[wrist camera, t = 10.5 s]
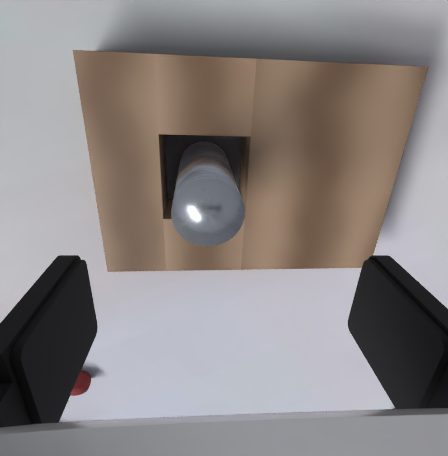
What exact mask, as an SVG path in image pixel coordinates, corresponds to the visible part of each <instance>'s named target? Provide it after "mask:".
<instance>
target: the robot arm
mask: <svg viewBox="0 0 448 456" xmlns="http://www.w3.org/2000/svg"><path fill="white" fill-rule="evenodd" d="M348 328H349V331H350V333H351V334H352V336H353V338H354V339H355V341H356V343H357V344H358V346H359V348H360V349H361V351H362V353H363V354H364V356H365V358H366V359H367V361H368V363H369V364H370V366H371V368H372V370H373V371H374V373H375V375H376V376H377V378H378V380H379V381H380V383H381V385H382V386H383V388H384V390H385V391H386V393H387V395H388V396H389V398H390V400H391V401H392V403H393V405H394V407H395V408H396V409H386V410H353V411H321V412H292V413H264V414H237V415H210V416H186V417H162V418H138V419H115V420H95V421H78V422H61V423H59V420H60V418H61V416H62V413H63V411H64V409H65V406H66V404H67V402H68V399H69V397H70V395H71V392H72V390H73V388H74V385H75V383H76V381H77V378H78V376H79V374H80V371H81V369H82V367H83V364H84V362H85V360H86V357H87V355H88V353H89V350H90V348H91V346H92V343H93V341H94V339H95V336H96V333H97V320H96V314H95V309H94V303H93V298H92V292H91V286H90V281H89V275H88V270H87V264H86V261H85V260H81V259H80V257H79V256H58V257H57V258H56V259H55V260H54V261H53V262H52V263H51V265H50V266H49V267H48V268H47V269H46V271H45V272H44V273H43V274H42V275H41V276H40V278H39V279H38V280H37V281H36V282H35V283H34V285H33V286H32V287H31V288H30V289H29V290H28V292H27V293H26V294H25V295H24V296H23V297H22V299H21V300H20V301H19V302H18V303H17V305H16V306H15V307H14V308H13V309H12V310H11V312H10V313H9V314H8V315H7V316H6V317H5V319H4V320H3V321H2V322H1V323H0V456H448V309H447V308H446V307H445V306H444V305H443V304H442V303H441V302H439V301H438V300H437V299H436V298H435V297H434V296H433V295H432V294H431V293H430V292H429V291H427V290H426V289H425V288H424V287H423V286H422V285H421V284H420V283H419V282H418V281H417V280H415V279H414V278H413V277H412V276H411V275H410V274H409V273H408V272H407V271H406V270H405V269H403V268H402V267H401V266H400V265H399V264H398V263H397V262H396V261H395V260H394V259H393V258H391V257H390V256H370V257H369V258H368V260H365V261H364V263H363V266H362V269H361V273H360V277H359V281H358V285H357V288H356V292H355V296H354V300H353V304H352V307H351V311H350V315H349V319H348Z"/></svg>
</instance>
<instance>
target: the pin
mask: <svg viewBox="0 0 448 456" xmlns="http://www.w3.org/2000/svg"><path fill="white" fill-rule="evenodd" d="M171 217H172V222H173V225H174V227H175V229H176V230H177V232H178V233H179V234H180V235H181V236H182V237H183V238H184V239H185V240H187V241H189V242H191V243H193V244H196V245H199V246H216V245H220V244H222V243H225V242H227V241H228V240H230V239H231V238H233V237H234V236H235V235H236V234H237V232H238V231H239V230H240V228H241V226H242V224H243V221H244V217H245V207H244V203H243V200H242V197H241V195H240V192H239V189H238V187H237V184H236V181H235V179H234V176H233V173H232V171H231V168H230V165H229V163H228V160H227V157H226V155H225V153H224V152H223V150H222V149H221V148H220V147H219V146H217V145H216V144H214V143H211V142H206V141H202V142H197V143H194V144H192V145H190V146H189V147H188V148H187V149H186V150H185V151H184V152H183V154H182V156H181V159H180V165H179V170H178V176H177V181H176V187H175V192H174V198H173V203H172V209H171Z"/></svg>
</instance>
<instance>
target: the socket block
mask: <svg viewBox="0 0 448 456" xmlns="http://www.w3.org/2000/svg"><path fill="white" fill-rule="evenodd" d="M73 54H74V61H75V67H76V73H77V80H78V86H79V93H80V99H81V105H82V112H83V118H84V124H85V131H86V137H87V143H88V150H89V156H90V163H91V169H92V175H93V182H94V188H95V194H96V201H97V207H98V213H99V220H100V226H101V233H102V239H103V245H104V252H105V258H106V264H107V271H108V272H117V271H181V270H244V269H308V268H362V266H363V263H364V261H365V260H368V258H369V257H370V256H373V253H374V250H375V247H376V243H377V240H378V236H379V233H380V230H381V226H382V223H383V220H384V216H385V213H386V209H387V206H388V203H389V199H390V196H391V192H392V189H393V186H394V182H395V179H396V175H397V172H398V169H399V165H400V162H401V158H402V155H403V152H404V148H405V145H406V141H407V138H408V135H409V131H410V128H411V124H412V121H413V118H414V114H415V111H416V108H417V104H418V101H419V97H420V94H421V91H422V87H423V84H424V80H425V77H426V74H427V70H428V67H422V66H400V65H379V64H358V63H337V62H316V61H295V60H274V59H253V58H232V57H211V56H189V55H168V54H147V53H126V52H105V51H84V50H73ZM164 134H168V135H210V136H242V152H241V168H240V184H239V192H240V195H241V197H242V200H243V203H244V207H245V217H244V221H243V224H242V226H241V228H240V230H239V231H238V232H237V234H236V235H235V236H234V237H233V238H231V239H230V240H228V241H227V242H225V243H222V244H220V245H216V246H199V245H196V244H193V243H191V242H189V241H187V240H185V239H184V238H183V237H182V236H181V235H180V234H179V233H178V232H177V230H176V229H175V227H174V225H173V222H172V217H171V209H172V203H173V200H167V181H166V160H165V139H164Z"/></svg>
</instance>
